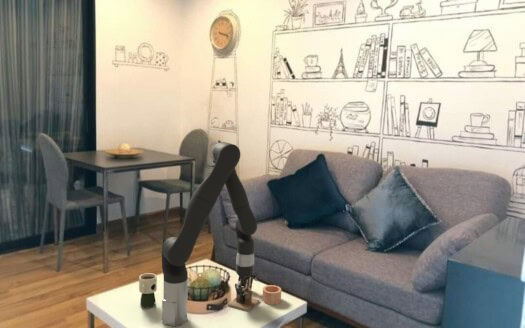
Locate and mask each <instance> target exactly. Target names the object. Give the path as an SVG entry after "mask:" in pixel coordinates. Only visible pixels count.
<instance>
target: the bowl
mask: <svg viewBox="0 0 525 328" xmlns="http://www.w3.org/2000/svg"><path fill="white" fill-rule="evenodd" d="M261 297H262V300H261V301H262V302H263V303H264V304H265V305H266V304H267V305H269V306H270V305H271V306H272V305H278V304H280V303H281V302H282V288H281V287H280V286H279V285H274V284H273V285H272V284H268V285H265V286H263V287H262V296H261Z"/></svg>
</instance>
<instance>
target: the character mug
mask: <svg viewBox="0 0 525 328" xmlns="http://www.w3.org/2000/svg"><path fill="white" fill-rule="evenodd" d="M157 277H158V276H157V274H155V273H150V272H147V273H146V272H145V273H143V274H140V275H139V277H138V291H139V293H141V295H140V307H142V308H148V309H150V308H153V307H154V306H156V305H157V301H156V296H155V295H156V294H155V292H156V291H157V289H158V286H157V284H158V283H157V281H158V280H157Z"/></svg>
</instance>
